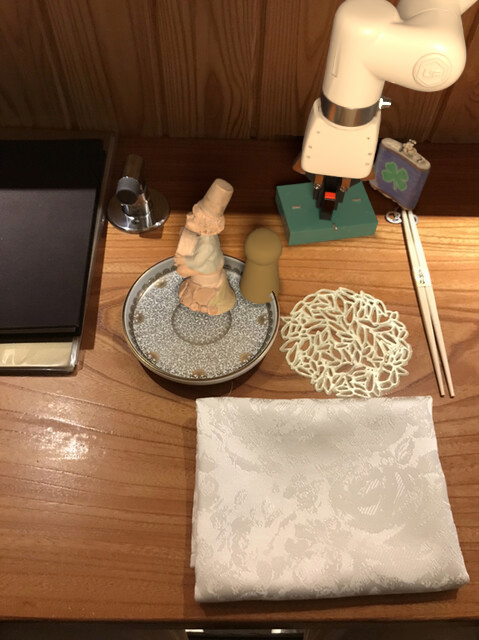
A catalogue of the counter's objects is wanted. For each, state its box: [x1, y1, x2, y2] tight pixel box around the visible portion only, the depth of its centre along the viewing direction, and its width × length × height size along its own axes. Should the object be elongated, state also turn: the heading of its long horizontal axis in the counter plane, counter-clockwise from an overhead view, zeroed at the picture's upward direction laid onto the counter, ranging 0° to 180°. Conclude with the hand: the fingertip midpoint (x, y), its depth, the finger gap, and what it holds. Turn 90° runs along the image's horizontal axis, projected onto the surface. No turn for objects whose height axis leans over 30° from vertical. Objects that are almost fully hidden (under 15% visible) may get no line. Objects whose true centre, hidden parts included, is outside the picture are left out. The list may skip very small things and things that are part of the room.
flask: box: [368, 137, 432, 211], centre depth 90 cm, size 9×3×11 cm, turn 44°
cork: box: [238, 227, 284, 305], centre depth 79 cm, size 6×6×11 cm
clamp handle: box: [319, 175, 339, 221], centre depth 87 cm, size 7×2×5 cm, turn 171°
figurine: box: [172, 178, 237, 316], centre depth 74 cm, size 9×8×20 cm
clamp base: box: [274, 181, 379, 247], centre depth 90 cm, size 14×11×3 cm
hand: (326, 202), depth 88 cm, fingers closed on clamp handle, 2 cm apart
